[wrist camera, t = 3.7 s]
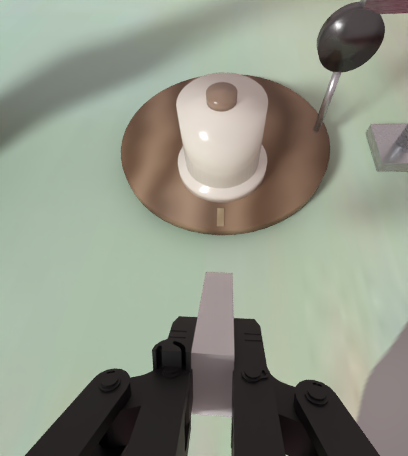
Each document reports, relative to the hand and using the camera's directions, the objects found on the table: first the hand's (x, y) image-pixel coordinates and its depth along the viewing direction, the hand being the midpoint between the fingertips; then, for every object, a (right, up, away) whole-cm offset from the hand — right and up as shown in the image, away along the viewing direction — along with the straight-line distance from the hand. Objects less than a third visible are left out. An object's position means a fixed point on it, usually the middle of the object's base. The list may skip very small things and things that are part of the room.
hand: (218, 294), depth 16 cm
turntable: (+2, +15, +25) cm, 29 cm away
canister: (+1, +12, +20) cm, 24 cm away
